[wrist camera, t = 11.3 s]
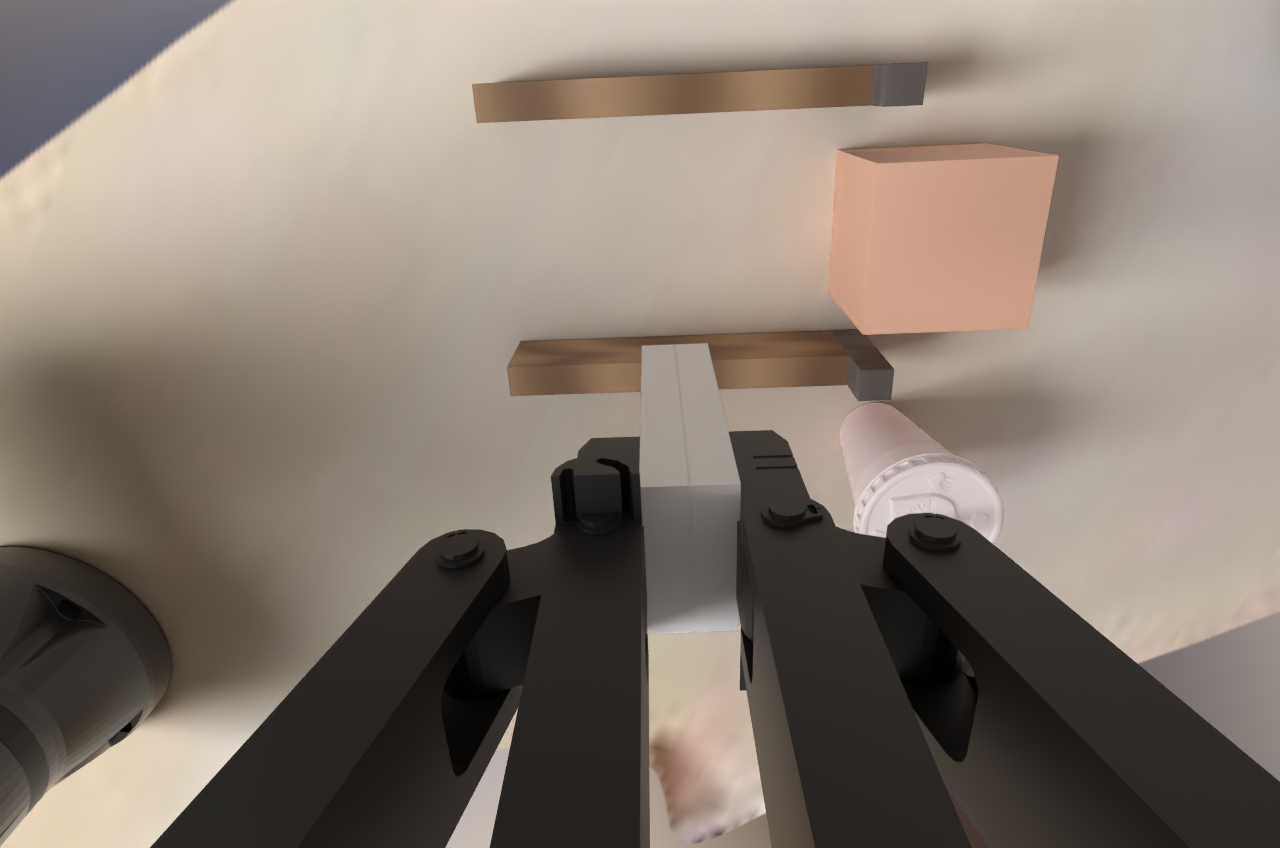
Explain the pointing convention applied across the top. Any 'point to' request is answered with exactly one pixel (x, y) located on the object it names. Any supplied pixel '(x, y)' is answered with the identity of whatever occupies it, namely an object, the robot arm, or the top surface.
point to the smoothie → (911, 475)
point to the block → (939, 236)
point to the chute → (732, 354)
